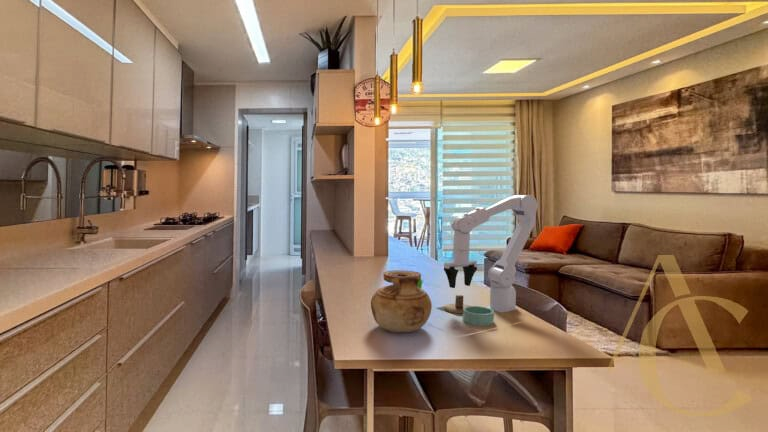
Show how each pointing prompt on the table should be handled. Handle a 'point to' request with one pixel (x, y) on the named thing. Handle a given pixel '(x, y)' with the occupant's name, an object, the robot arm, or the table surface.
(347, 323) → the table surface
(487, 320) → the bowl
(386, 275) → the clay pot
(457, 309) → the lid
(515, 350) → the table surface
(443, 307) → the mat
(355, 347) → the table surface
